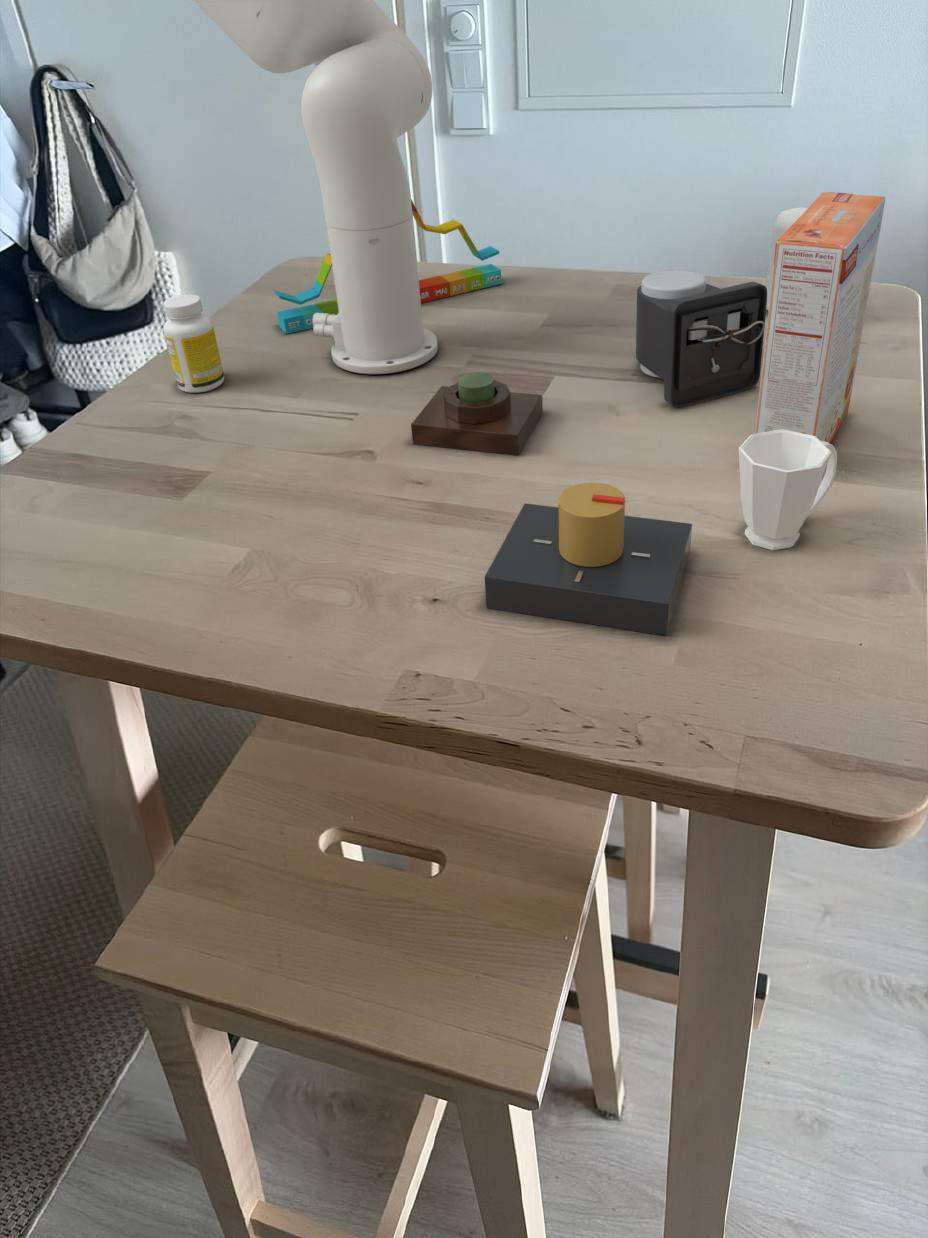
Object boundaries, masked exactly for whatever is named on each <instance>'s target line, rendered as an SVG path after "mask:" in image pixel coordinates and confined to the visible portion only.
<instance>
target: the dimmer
mask: <svg viewBox="0 0 928 1238" xmlns="http://www.w3.org/2000/svg"><path fill="white" fill-rule="evenodd" d="M558 507H559V552H560V554H561V556H562V557H563V558H564V559H565V560H567V561H568V562H570V563H572V564H575V565H578V566H584V567H599V566H604V565H608V564H610V563H613V562H614V561H616V560H617V559H619V558H620V556H621V555H622V553H623V547H624V523H625V516H626V496H625V494H624V493H623V492H622V491H621V490H620V489H619V488H617V487H615V486H613V485H610V484H607V483H601V482H582V483H577V484H574V485H572V486H571V485H570V487H569V486H568V488H566V489H564V490H563V491H561V493H560V495H559V497H558Z"/></svg>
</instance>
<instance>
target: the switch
mask: <svg viewBox="0 0 928 1238" xmlns="http://www.w3.org/2000/svg"><path fill="white" fill-rule="evenodd" d="M494 380H495V377H494V376H493V375H492V374H490V373H488V372H480V371H477V372H469V373H466V374H463V375H461V376H460V377H459V378H458V379H457V383H458V392H459V399H460V400H463V401H466V402H482V401H487V400H489V399H492V398H494V397H495V387H494Z"/></svg>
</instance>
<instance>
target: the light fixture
mask: <svg viewBox="0 0 928 1238" xmlns="http://www.w3.org/2000/svg"><path fill="white" fill-rule="evenodd" d="M766 305H767V288H766V287H765V284H761V283H759V282H757V281H748V282H744V283H739V284H735V285H730V286H727V287H722V288H721V287H717V286H714V285H711V284H709V283H707V279H706V277H705V276H704V275H703V274H702V273H699V272H696V271H691V270H682V269H680V270H679V269H672V270H663V271H657V272H653V273H650V274H648V275H646V276H645V277H643V279H641V285H640V286H638V288H637V289H636V321H635V323H636V325H635V328H636V329H635V359H636V361H637V362H638V363H639V367H640V370H641V372H643V374H645V375H647V376H649V377H653V378H655V379H657V378H658V379H660V380H663V398H664V401H665V402H666V403H667V404H669V405H670V406H672V407H674V408H677V409H679V408H684V407H688V406H691V405H695V404H699V403H703V402H706V401H710V400H711V401H712V400H715V399H718V398H723V397H725V396H729V395H733V394H737V393H741V392H744V391H748V390H752V389H753V388H755V387H756V386H757V385H758V383H759V381H760V379H761V372H762V362H763V351H764V339H765V327H766V317H767V316H766V314H767V310H766Z"/></svg>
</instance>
